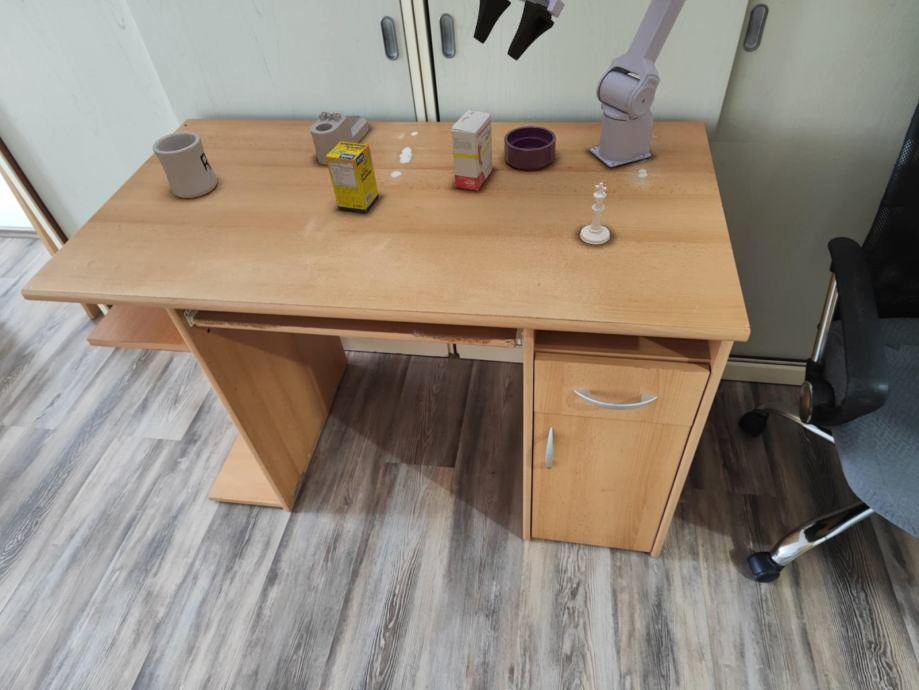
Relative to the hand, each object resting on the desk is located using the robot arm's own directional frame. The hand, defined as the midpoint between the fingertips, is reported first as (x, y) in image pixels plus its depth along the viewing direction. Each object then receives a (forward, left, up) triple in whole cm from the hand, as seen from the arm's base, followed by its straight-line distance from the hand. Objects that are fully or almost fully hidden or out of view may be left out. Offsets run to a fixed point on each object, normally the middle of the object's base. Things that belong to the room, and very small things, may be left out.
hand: (494, 49), depth 88 cm
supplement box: (+23, -13, -27) cm, 38 cm away
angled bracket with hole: (+20, -38, -27) cm, 51 cm away
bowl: (-13, -13, -27) cm, 33 cm away
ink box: (0, -11, -27) cm, 29 cm away
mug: (+52, -36, -27) cm, 69 cm away
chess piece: (-11, +16, -27) cm, 34 cm away
